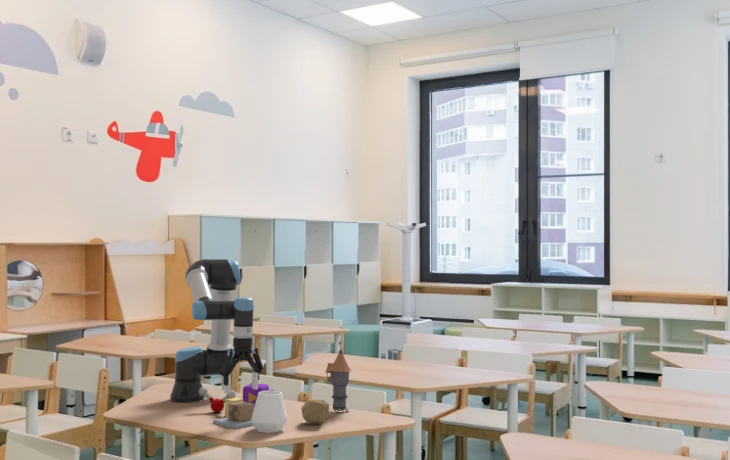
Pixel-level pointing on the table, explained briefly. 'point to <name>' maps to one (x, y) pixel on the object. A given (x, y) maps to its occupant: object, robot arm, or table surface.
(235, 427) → the plate
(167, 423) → the table surface
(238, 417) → the walnut block
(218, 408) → the molecular model
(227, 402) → the mustard block
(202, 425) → the table surface
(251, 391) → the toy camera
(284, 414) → the white faceted vase
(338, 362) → the model tower
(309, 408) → the low-poly potato
